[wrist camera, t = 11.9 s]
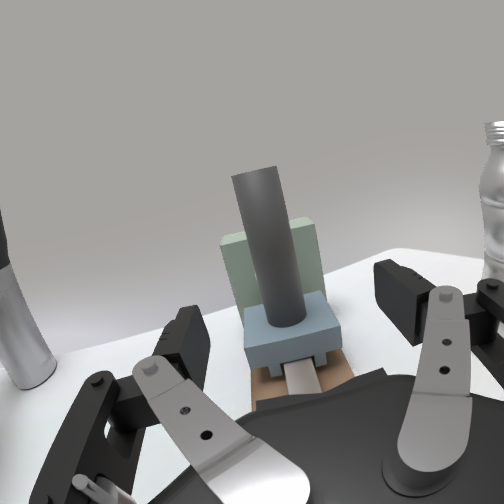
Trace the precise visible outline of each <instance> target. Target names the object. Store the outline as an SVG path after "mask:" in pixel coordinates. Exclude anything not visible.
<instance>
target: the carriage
mask: <svg viewBox="0 0 504 504" xmlns="http://www.w3.org/2000/svg"><path fill="white" fill-rule="evenodd" d="M231 177H232V181H233V185H234V189H235V193H236V197H237V201H238V205H239V209H240V213H241V217H242V221H243V225H244V229H245V233H246V237H247V241H248V245H249V249H250V253H251V257H252V261H253V265H254V269H255V273H256V277H257V281H258V285H259V289H260V293H261V297H262V301H263V304H261V305H256V306H252V307H247V308H244V350H245V354H246V357H247V360H248V363H249V366H250V369H256V368H261V367H266V366H268V368H269V371H270V375H271V377H276V376H280V375H282V369H281V363H285V362H289V361H294V360H298V359H302V358H306V357H310V356H313V359H314V362H315V365H316V367H318V366H322V365H326V364H327V360H326V352H329V351H333V350H336V349H340V348H342V337H341V326H340V324H339V322H338V320H337V318H336V317H335V315H334V313H333V311H332V310H331V308H330V306H329V304H328V303H327V301H326V299H325V298H324V296H323V294H322V292H321V291H320V290H319V291H315V292H311V293H307V294H303V290H302V285H301V279H300V274H299V269H298V264H297V259H296V253H295V248H294V243H293V239H292V234H291V229H290V224H289V220H288V215H287V210H286V205H285V201H284V197H283V192H282V188H281V183H280V179H279V174H278V170H277V166H273V167H269V168H264V169H259V170H255V171H251V172H247V173H242V174H238V175H235V176H231Z"/></svg>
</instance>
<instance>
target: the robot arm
mask: <svg viewBox="0 0 504 504" xmlns="http://www.w3.org/2000/svg"><path fill="white" fill-rule="evenodd" d="M374 285H375V298H376V302H377V304H378V306H379V308H380V309H381V310H382V311H383V312H384V313H385V314H386V316H387V317H388V318H389V319H390V320H391V321H392V323H393V324H394V325H395V326H396V327H397V328H398V330H399V331H400V332H401V333H402V334H403V336H404V337H405V338H406V339H407V340H408V342H409V343H410V344H411V345H412V346H416V345H418V344H421V343H423V344H422V350H421V355H420V360H419V365H418V370H417V375H416V376H413V375H400V374H398V375H387V374H386V372H385V370H384V369H383V368H380V369H377V370H374V371H372V372H369V373H366V374H363V375H359V376H356V377H353V378H351V379H350V380H348V381H346V382H344V383H342V384H340V385H338V386H336V387H334V388H332V389H330V390H328V391H326V392H323V393H313V394H292V395H284V396H279V397H274V398H269V399H263V400H257V401H256V410H255V411H252V412H250V413H248V414H246V415H244V416H242V417H240V418H239V419H237V420H236V421H234V420H232V419H231V418H230V417H229V416H228V415H227V414H226V413H225V412H224V411H222V410H221V409H220V408H219V407H218V406H217V405H216V404H215V403H214V402H213V401H212V400H211V399H210V398H209V397H208V396H207V395H206V394H204V393H203V388H204V382H205V376H206V370H207V364H208V358H209V352H210V338H209V334H208V331H207V329H206V326H205V323H204V320H203V318H202V315H201V312H200V309H199V307H198V306H197V305H193V306H187V307H182V308H180V309H179V312H178V314H177V316H176V319H175V320H172V321H170V322H169V323H168V324H167V325H166V326H165V327H164V330H163V332H162V335H161V336H160V338H159V341H158V343H157V345H156V347H155V349H154V352H153V354H152V356H150V357H147V358H145V359H143V360H141V361H140V362H138V363H137V364H136V365H135V366H134V368H133V371H132V374H133V375H131V376H128V377H124V378H121V379H117V380H116V379H115V377H114V376H113V374H112V373H111V372H110V371H99V372H96V373H94V374H92V375H91V376H90V377H88V378H87V379H86V381H85V382H84V384H83V385H82V387H81V389H80V391H79V393H78V395H77V396H76V398H75V400H74V402H73V404H72V406H71V408H70V410H69V412H68V413H67V415H66V417H65V419H64V421H63V423H62V425H61V427H60V429H59V431H58V433H57V435H56V438H55V440H54V442H53V444H52V446H51V448H50V450H49V453H48V455H47V457H46V459H45V461H44V464H43V466H42V468H41V471H40V473H39V476H38V478H37V480H36V483H35V485H34V488H33V490H32V493H31V496H30V499H29V504H136V502H135V500H134V499H133V498H132V497H131V494H132V489H133V484H134V479H135V474H136V469H137V465H138V460H139V456H140V451H141V447H142V443H143V438H144V434H145V430H146V427H149V426H153V425H156V424H160V423H161V424H162V425H163V427H164V428H165V430H166V431H167V433H168V434H169V436H170V437H171V438H172V440H173V441H174V443H175V444H176V445H177V447H178V448H179V449H180V451H181V452H182V453H183V455H184V456H185V457H186V459H187V460H188V461H189V463H190V464H191V465H190V466H189V467H188V468H186V469H185V470H184V471H183V472H182V473H181V474H180V475H179V476H178V477H177V478H176V479H175V480H174V481H173V482H172V483H171V484H169V485H168V486H167V487H166V488H165V489H164V490H163V491H162V492H161V493H159V494H158V495H157V496H156V497H155V498H154V499H152V500H151V501H150V502H149V503H148V504H504V401H500V400H496V399H492V398H488V397H484V396H481V395H477V394H473V393H470V377H471V351H472V352H473V353H474V354H475V355H476V357H477V358H478V359H479V360H480V361H481V362H482V364H483V365H484V366H485V367H486V368H487V369H488V371H489V372H490V373H491V374H492V375H493V377H494V378H495V379H496V380H497V382H498V383H499V384H500V385H501V387H502V388H503V389H504V338H503V337H502V336H501V335H500V334H499V333H498V328H499V324H500V321H501V322H502V323H503V324H504V282H502V281H500V280H498V279H494V278H486V279H483V280H481V281H479V282H478V284H477V292H476V293H472V294H467V295H463V294H462V292H461V291H460V290H459V289H457V288H455V287H452V286H439V287H436V286H435V285H433V284H432V283H431V282H429V281H428V280H426V279H425V278H423V277H422V276H421V275H419V274H418V273H417V272H415V271H414V270H412V269H410V268H407V267H404V266H400V265H398V264H397V263H395V262H394V261H392V260H391V259H387V260H384V261H380V262H376V263H375V264H374ZM0 361H1V363H2V364H3V366H4V367H5V369H6V371H7V372H8V374H9V375H10V377H11V378H12V380H13V381H14V382H15V383H16V385H17V386H18V388H20V389H30V388H33V387H35V386H37V385H39V384H41V383H42V382H43V381H45V380H46V379H47V378H48V377H49V376H50V375H51V374H52V373H53V371H54V370H55V367H56V364H57V363H56V360H55V358H54V357H53V355H52V353H51V351H50V350H49V348H48V346H47V344H46V342H45V340H44V339H43V337H42V335H41V333H40V331H39V329H38V327H37V325H36V323H35V321H34V319H33V317H32V315H31V312H30V310H29V308H28V306H27V304H26V301H25V299H24V297H23V294H22V292H21V289H20V287H19V284H18V282H17V279H16V277H15V274H14V272H13V269H12V266H11V264H10V260H9V257H8V250H7V239H6V235H5V231H4V226H3V222H2V217H1V211H0ZM107 421H108V422H109V424H110V425H111V427H110V429H109V432H108V435H107V438H105V435H104V428H105V425H106V423H107Z"/></svg>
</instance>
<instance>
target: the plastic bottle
mask: <svg viewBox="0 0 504 504" xmlns="http://www.w3.org/2000/svg"><path fill="white" fill-rule="evenodd" d="M485 131H486V136H487V140H486V141H487V145H490V146H491V154H490V156H489V159H488V161H487V163H486V165H485V167H484V170H483V172H482V175H481V178H480V184H479V192H480V198H481V206H482V213H483V221H484V230H485V259H484V268H483V274H482V279H481V280H483V279H486V278H494V279H498V280H500V281H502V282H504V122H490V123H485ZM498 333H499V334H500V335H501V336H502V337H503V338H504V324H503V323H502V322H501V321H500V324H499V328H498Z"/></svg>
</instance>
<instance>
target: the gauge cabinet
mask: <svg viewBox="0 0 504 504" xmlns="http://www.w3.org/2000/svg"><path fill="white" fill-rule="evenodd" d="M289 224H290V229H291V234H292V239H293V243H294V248H295V253H296V259H297V264H298V269H299V274H300V279H301V285H302V290H303V294H307V293H311V292H315V291H319V290H320V291H321V292H322V294H323V296H324V298H325V299H326V301H327V298H326V291H325V284H324V277H323V271H322V265H321V258H320V252H319V246H318V241H317V235H316V229H315V224H314V223H313V222H312V221H310V220H309V219H308V218H307V217H302V218H298V219H293V220H289ZM220 248H221V252H222V255H223V259H224V263H225V266H226V270H227V273H228V277H229V280H230V284H231V287H232V290H233V294H234V297H235V301H236V304H237V307H238V311H239V314H240V317H241V321H242V324H243V327H244V308H247V307H252V306H256V305H261V304H263V301H262V297H261V293H260V289H259V285H258V281H257V277H256V273H255V269H254V265H253V261H252V257H251V253H250V249H249V245H248V241H247V237H246V233H245V231H242V232H238V233H233V234H230V235H225V236H223V238H222V241H221V244H220Z"/></svg>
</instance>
